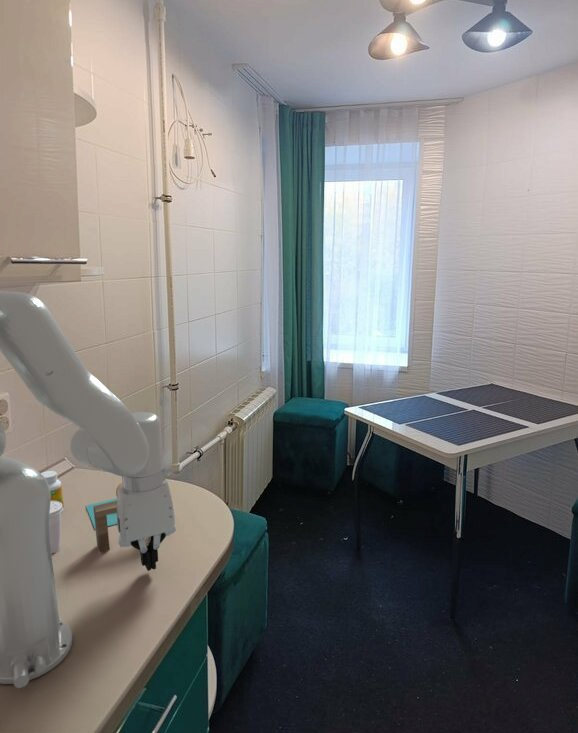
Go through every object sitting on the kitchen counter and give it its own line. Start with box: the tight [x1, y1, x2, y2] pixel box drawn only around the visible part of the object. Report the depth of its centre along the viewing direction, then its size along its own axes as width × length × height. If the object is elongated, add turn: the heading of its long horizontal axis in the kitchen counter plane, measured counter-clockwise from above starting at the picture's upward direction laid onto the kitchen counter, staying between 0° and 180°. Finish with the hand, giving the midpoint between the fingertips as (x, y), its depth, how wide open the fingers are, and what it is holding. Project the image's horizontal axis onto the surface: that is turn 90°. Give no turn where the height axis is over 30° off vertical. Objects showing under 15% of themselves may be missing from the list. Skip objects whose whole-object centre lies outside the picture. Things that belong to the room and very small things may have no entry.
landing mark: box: [85, 497, 117, 531], centre depth 126 cm, size 13×13×1 cm
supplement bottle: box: [40, 470, 65, 512], centre depth 125 cm, size 5×5×10 cm
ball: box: [115, 481, 123, 497], centre depth 130 cm, size 6×6×6 cm
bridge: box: [93, 501, 117, 553], centre depth 112 cm, size 3×14×9 cm, turn 120°
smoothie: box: [49, 501, 64, 555], centre depth 108 cm, size 6×6×14 cm
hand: (150, 566), depth 101 cm, fingers closed
